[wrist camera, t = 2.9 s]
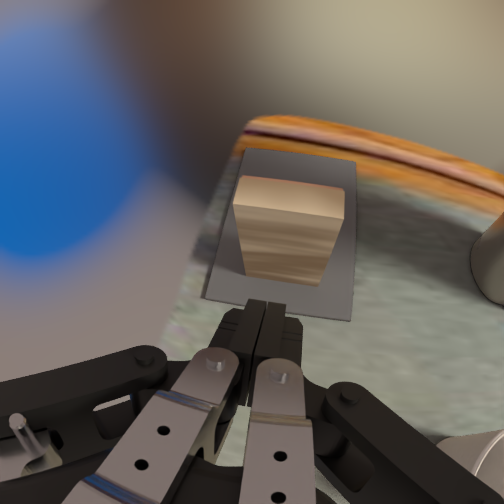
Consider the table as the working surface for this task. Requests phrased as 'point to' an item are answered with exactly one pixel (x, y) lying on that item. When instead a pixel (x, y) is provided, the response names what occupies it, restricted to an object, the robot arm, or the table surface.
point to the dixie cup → (479, 456)
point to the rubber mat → (341, 259)
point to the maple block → (287, 228)
